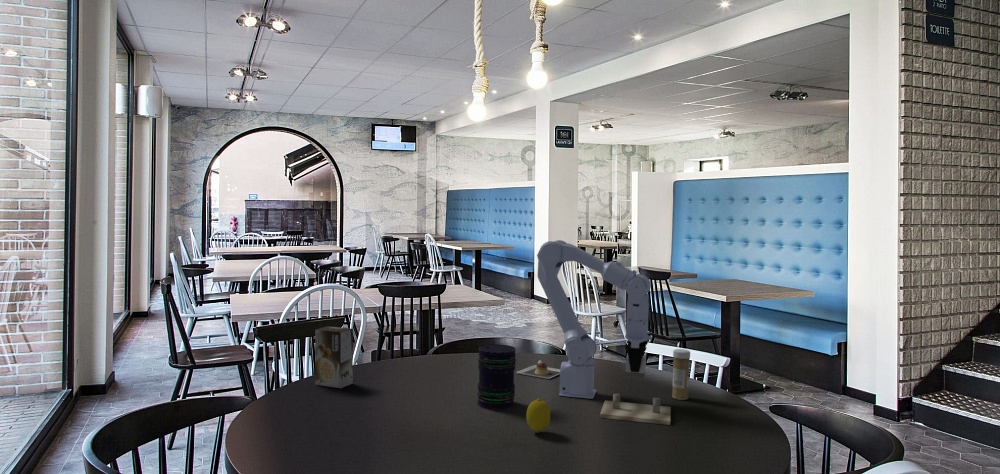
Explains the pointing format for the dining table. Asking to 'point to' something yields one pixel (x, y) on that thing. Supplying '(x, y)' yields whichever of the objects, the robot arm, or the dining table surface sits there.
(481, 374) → the storage jar
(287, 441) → the dining table surface
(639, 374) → the sleeve
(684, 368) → the sprinkles bottle
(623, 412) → the pin board
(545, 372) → the dessert
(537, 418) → the lemon
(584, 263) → the robot arm
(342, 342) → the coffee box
